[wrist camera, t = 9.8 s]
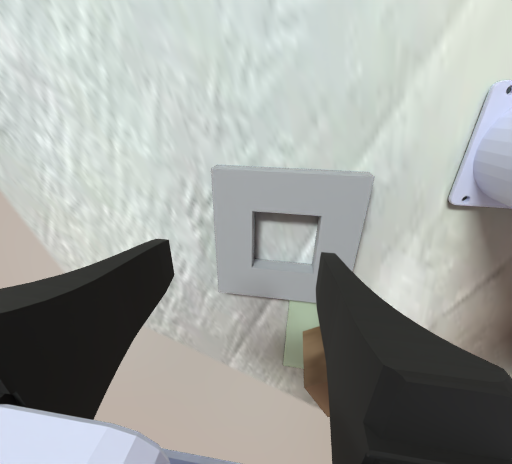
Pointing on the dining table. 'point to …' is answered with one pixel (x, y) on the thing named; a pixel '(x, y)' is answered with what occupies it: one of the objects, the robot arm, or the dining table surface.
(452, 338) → the dining table surface
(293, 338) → the felt mat
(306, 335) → the walnut block
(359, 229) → the pocket board
